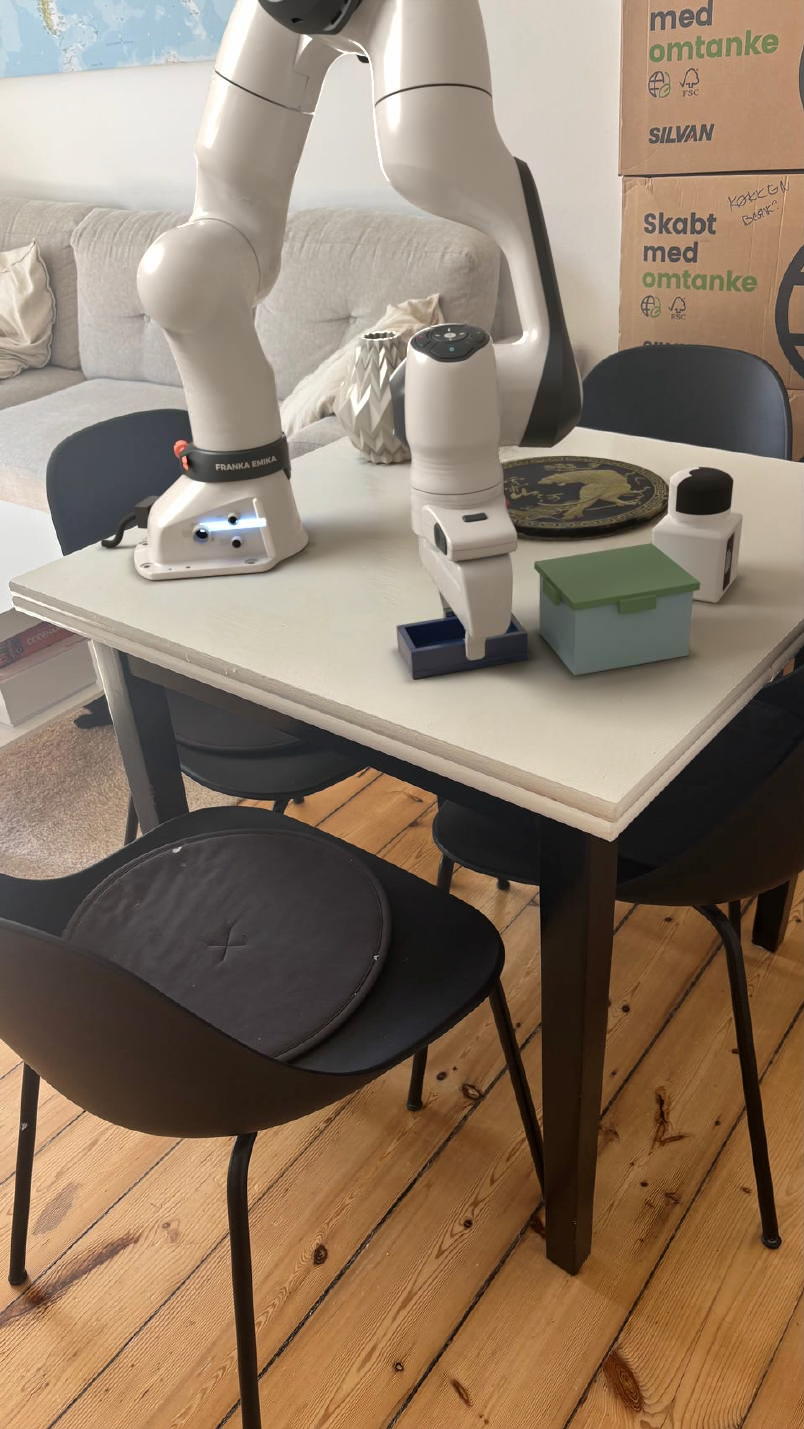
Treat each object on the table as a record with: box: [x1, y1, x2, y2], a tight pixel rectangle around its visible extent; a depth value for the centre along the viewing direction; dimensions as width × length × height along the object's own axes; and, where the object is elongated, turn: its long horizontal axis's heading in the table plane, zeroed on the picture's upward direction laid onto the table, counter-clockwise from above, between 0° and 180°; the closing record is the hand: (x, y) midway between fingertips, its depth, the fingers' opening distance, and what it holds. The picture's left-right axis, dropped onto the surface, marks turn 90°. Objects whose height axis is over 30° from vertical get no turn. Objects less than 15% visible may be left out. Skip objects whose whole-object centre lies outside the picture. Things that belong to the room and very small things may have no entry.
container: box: [651, 466, 744, 604], centre depth 115 cm, size 8×8×13 cm
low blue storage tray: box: [395, 611, 529, 680], centre depth 107 cm, size 12×6×3 cm, turn 103°
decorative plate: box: [500, 455, 669, 541], centre depth 144 cm, size 30×2×30 cm
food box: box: [533, 542, 700, 676], centre depth 106 cm, size 14×12×8 cm
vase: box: [331, 330, 412, 465], centre depth 162 cm, size 16×16×18 cm
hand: (463, 639), depth 107 cm, fingers closed on low blue storage tray, 6 cm apart
